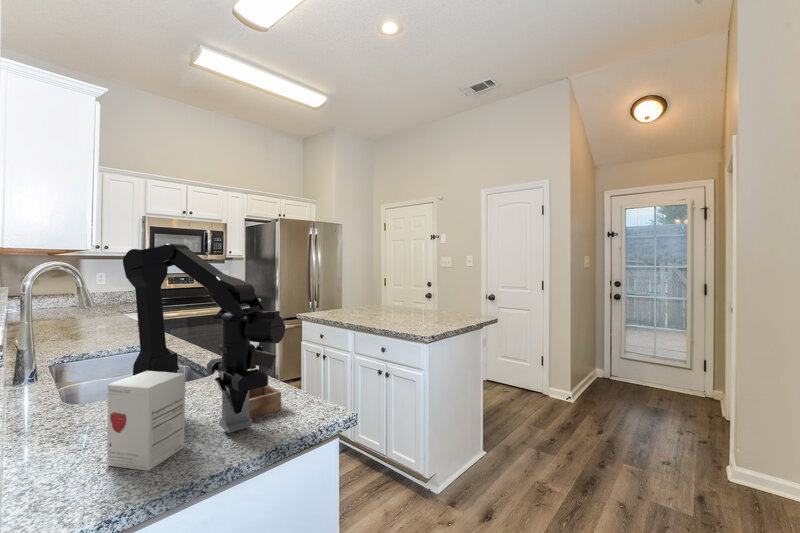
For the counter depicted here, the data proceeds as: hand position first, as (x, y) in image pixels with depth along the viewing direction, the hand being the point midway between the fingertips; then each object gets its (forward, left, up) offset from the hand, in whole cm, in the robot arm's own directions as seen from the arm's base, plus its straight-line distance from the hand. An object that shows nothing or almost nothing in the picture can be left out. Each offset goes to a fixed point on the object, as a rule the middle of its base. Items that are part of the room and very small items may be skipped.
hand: (235, 411), depth 81 cm
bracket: (0, 0, -3) cm, 3 cm away
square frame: (+8, +8, -4) cm, 12 cm away
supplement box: (-16, +1, -4) cm, 17 cm away
